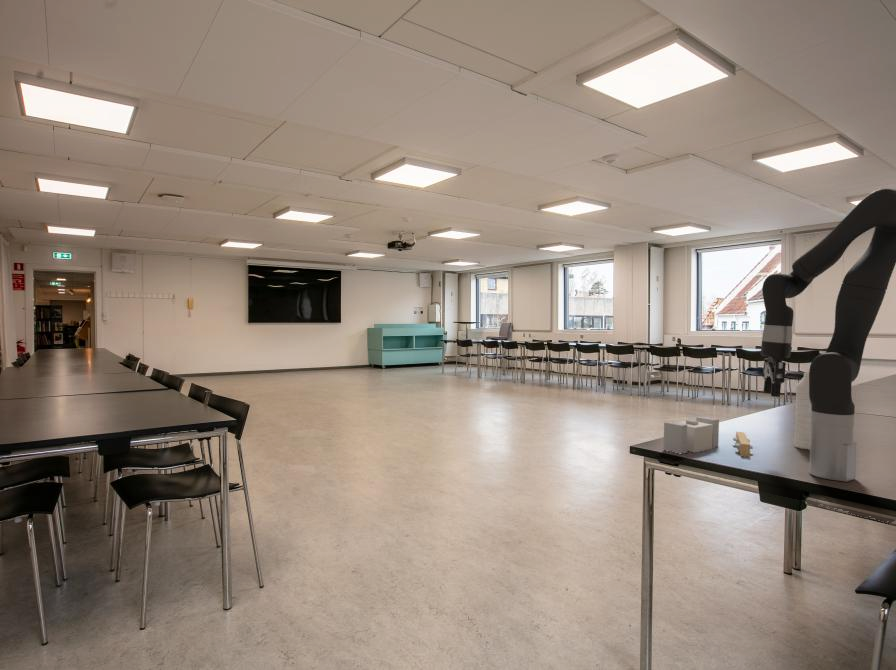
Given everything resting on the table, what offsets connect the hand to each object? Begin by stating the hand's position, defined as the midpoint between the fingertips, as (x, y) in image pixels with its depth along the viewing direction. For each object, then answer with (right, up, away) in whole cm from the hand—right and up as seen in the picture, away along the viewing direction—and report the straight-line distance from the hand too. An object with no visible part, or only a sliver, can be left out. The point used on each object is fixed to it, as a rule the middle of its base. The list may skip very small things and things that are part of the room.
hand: (771, 394), depth 154 cm
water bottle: (+22, -20, +16) cm, 33 cm away
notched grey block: (-18, -19, +12) cm, 29 cm away
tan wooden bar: (-2, -19, +12) cm, 23 cm away
